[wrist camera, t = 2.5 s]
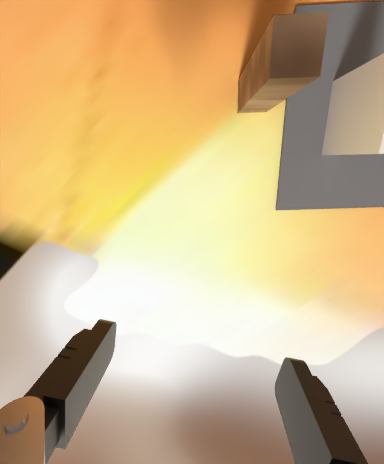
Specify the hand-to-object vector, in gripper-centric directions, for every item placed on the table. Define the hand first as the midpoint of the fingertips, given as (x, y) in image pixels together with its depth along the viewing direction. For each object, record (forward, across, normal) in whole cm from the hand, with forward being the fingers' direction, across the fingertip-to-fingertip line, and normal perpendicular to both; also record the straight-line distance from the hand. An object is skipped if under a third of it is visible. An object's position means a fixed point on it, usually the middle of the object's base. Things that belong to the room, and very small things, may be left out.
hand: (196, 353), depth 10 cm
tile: (+22, -13, -17) cm, 30 cm away
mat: (+22, -16, -17) cm, 32 cm away
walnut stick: (+22, -2, -18) cm, 28 cm away
